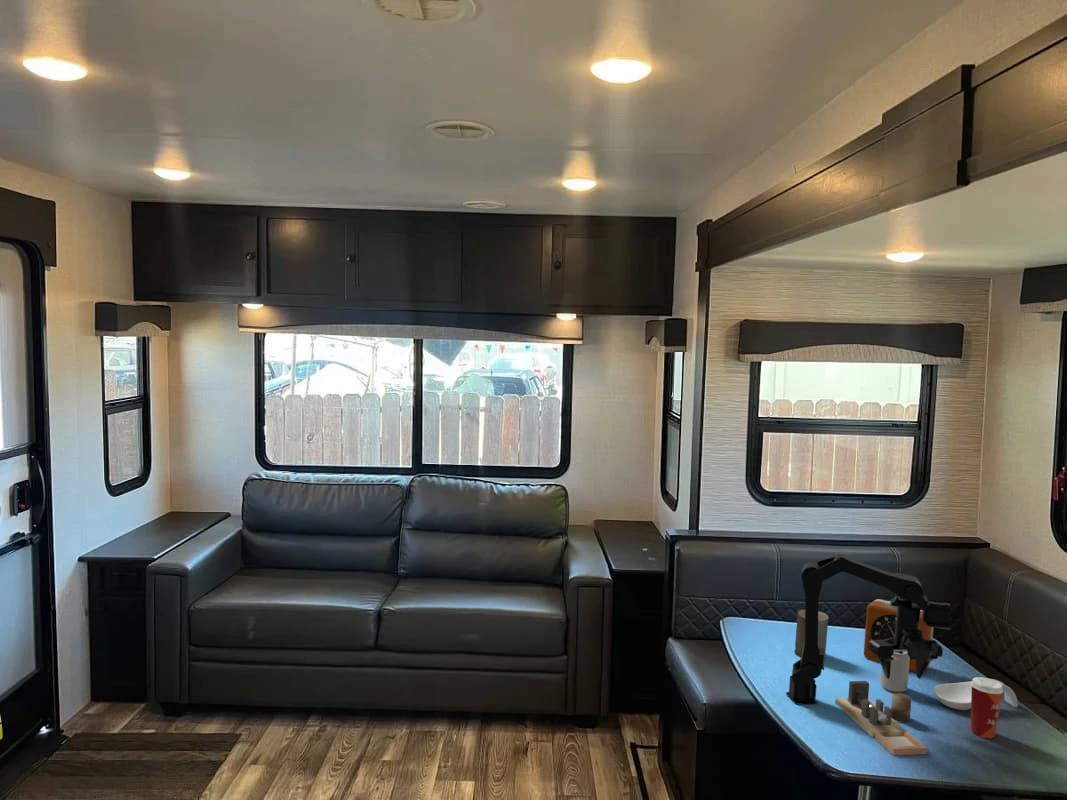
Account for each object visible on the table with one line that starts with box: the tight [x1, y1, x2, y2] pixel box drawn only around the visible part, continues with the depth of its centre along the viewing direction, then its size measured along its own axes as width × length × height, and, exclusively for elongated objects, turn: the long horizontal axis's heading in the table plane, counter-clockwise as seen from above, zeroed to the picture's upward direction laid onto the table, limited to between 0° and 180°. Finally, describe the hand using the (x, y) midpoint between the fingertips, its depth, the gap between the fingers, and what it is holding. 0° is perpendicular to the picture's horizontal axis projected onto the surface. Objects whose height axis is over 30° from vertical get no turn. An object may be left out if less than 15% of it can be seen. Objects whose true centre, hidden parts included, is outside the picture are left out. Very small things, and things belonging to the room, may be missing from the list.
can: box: [879, 651, 910, 694], centre depth 233 cm, size 8×8×12 cm
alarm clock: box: [863, 598, 934, 674], centre depth 252 cm, size 18×9×21 cm, turn 49°
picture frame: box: [875, 731, 928, 756], centre depth 199 cm, size 9×8×2 cm
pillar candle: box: [793, 609, 830, 659], centre depth 256 cm, size 10×10×15 cm
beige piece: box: [834, 697, 908, 738], centre depth 214 cm, size 10×19×5 cm, turn 7°
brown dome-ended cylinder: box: [891, 692, 913, 723], centre depth 215 cm, size 5×5×6 cm
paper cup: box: [970, 676, 1005, 739], centre depth 208 cm, size 8×8×14 cm
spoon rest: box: [933, 678, 1019, 711], centre depth 225 cm, size 24×12×7 cm, turn 98°
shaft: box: [847, 680, 888, 724], centre depth 214 cm, size 5×14×6 cm, turn 7°
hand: (903, 678), depth 214 cm, fingers open, 9 cm apart
